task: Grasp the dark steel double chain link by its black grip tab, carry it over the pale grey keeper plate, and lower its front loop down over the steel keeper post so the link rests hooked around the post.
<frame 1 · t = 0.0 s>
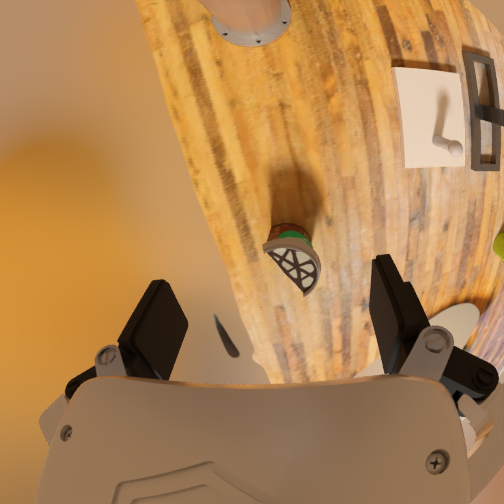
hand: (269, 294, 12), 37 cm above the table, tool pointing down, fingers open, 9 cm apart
food container: (298, 236, 52), on the table
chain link: (483, 112, 31), on the table
soap dispenser: (499, 242, 45), on the table
keeper post: (431, 117, 35), on the table
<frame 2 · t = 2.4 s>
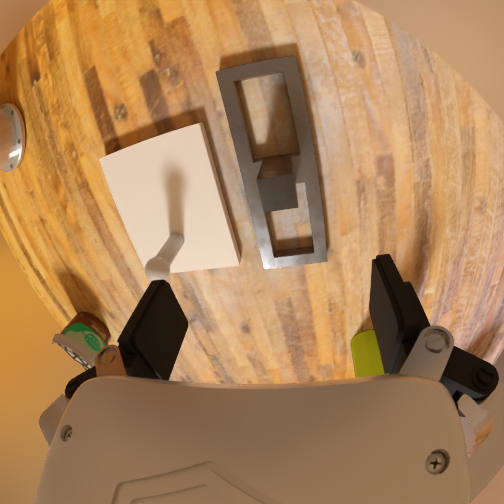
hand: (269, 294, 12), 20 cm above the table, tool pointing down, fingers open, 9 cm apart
food container: (97, 322, 49), on the table
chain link: (279, 168, 29), on the table
soap dispenser: (363, 340, 43), on the table
keeper post: (170, 206, 33), on the table
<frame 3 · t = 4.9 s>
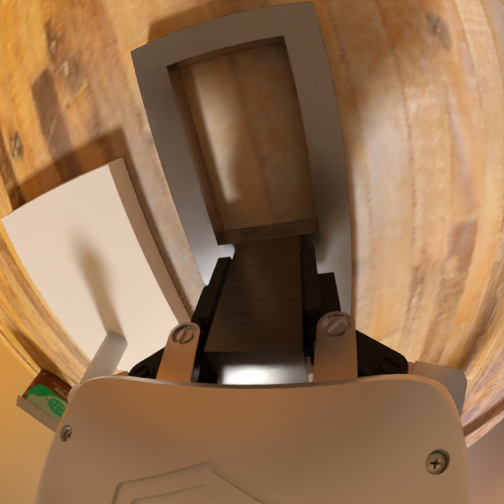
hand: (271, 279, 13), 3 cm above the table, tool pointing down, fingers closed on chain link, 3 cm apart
food container: (63, 382, 36), on the table
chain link: (274, 248, 15), on the table, touching gripper
keeper post: (101, 291, 19), on the table
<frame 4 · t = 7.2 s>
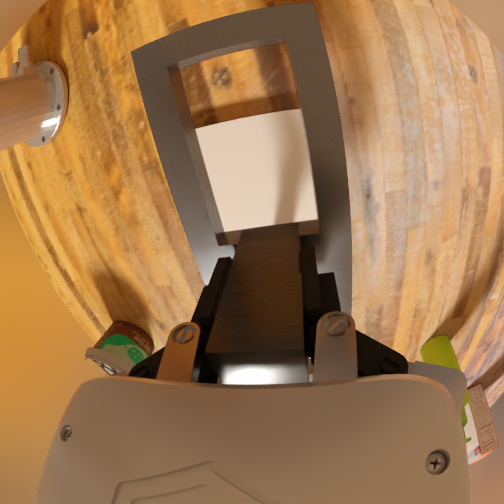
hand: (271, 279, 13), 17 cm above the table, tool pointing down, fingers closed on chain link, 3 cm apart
food container: (139, 333, 45), on the table
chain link: (274, 249, 15), point 14 cm above the table, touching gripper
soap dispenser: (432, 345, 37), on the table
keeper post: (275, 199, 28), on the table
cracker box: (467, 395, 48), on the table
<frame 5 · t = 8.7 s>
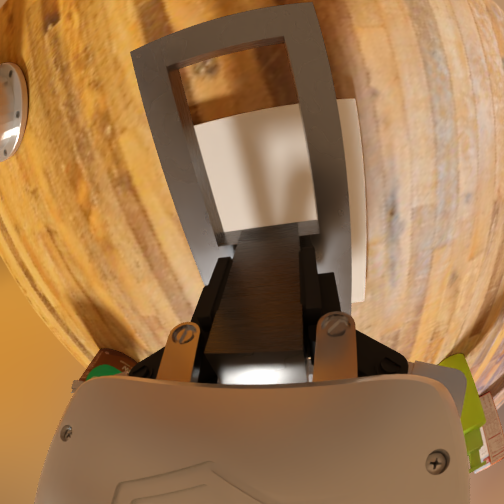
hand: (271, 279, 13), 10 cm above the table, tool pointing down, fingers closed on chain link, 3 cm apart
food container: (128, 361, 39), on the table
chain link: (274, 249, 15), point 8 cm above the table, touching gripper
soap dispenser: (446, 364, 32), on the table
keeper post: (278, 219, 22), on the table
cracker box: (475, 403, 44), on the table
when the fingers open (6 cm above the table, at t = 9.8 s): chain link drops 1 cm, resting on keeper post.
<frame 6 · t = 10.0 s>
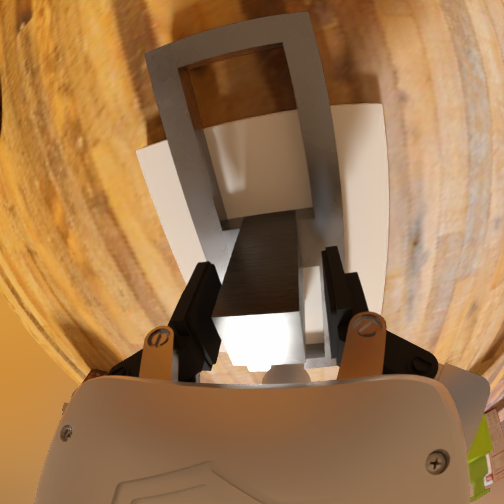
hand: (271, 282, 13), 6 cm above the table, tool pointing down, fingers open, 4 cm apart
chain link: (273, 235, 16), point 1 cm above the table, touching keeper post
soap dispenser: (455, 388, 28), on the table
keeper post: (281, 250, 19), on the table
cracker box: (480, 419, 39), on the table
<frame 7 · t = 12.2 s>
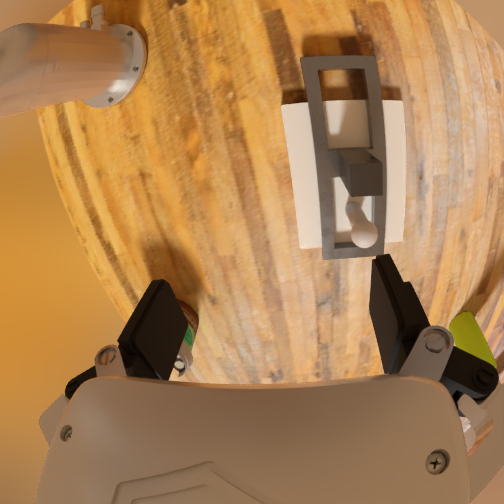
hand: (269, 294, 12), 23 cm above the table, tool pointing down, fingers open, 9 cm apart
food container: (184, 310, 47), on the table
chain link: (349, 160, 28), point 1 cm above the table, touching keeper post
soap dispenser: (458, 321, 39), on the table
keeper post: (349, 173, 30), on the table
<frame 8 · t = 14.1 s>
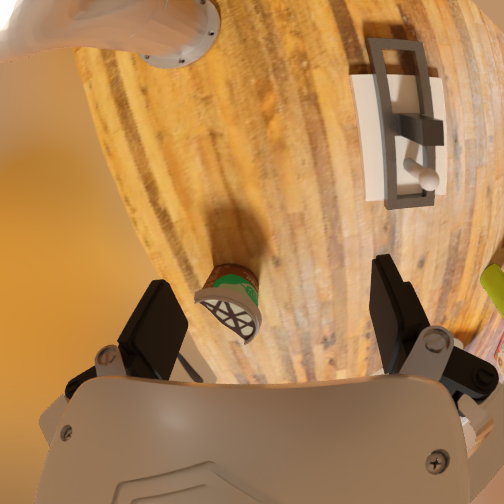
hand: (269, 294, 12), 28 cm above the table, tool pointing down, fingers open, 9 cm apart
food container: (244, 276, 48), on the table
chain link: (405, 123, 29), point 1 cm above the table, touching keeper post
soap dispenser: (487, 274, 41), on the table
keeper post: (403, 135, 31), on the table
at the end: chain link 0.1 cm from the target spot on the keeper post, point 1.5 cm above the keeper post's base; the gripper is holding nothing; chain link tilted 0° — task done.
